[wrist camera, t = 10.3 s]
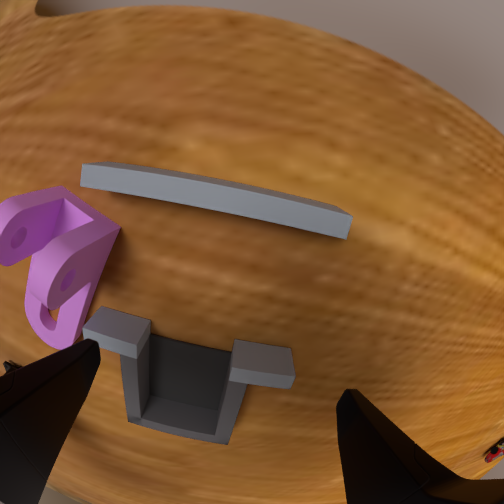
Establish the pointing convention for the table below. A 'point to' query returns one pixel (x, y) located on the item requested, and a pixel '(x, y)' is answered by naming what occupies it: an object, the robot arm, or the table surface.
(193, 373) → the trap pit
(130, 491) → the table surface
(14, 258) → the bracket
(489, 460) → the red labelled container
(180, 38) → the table surface
